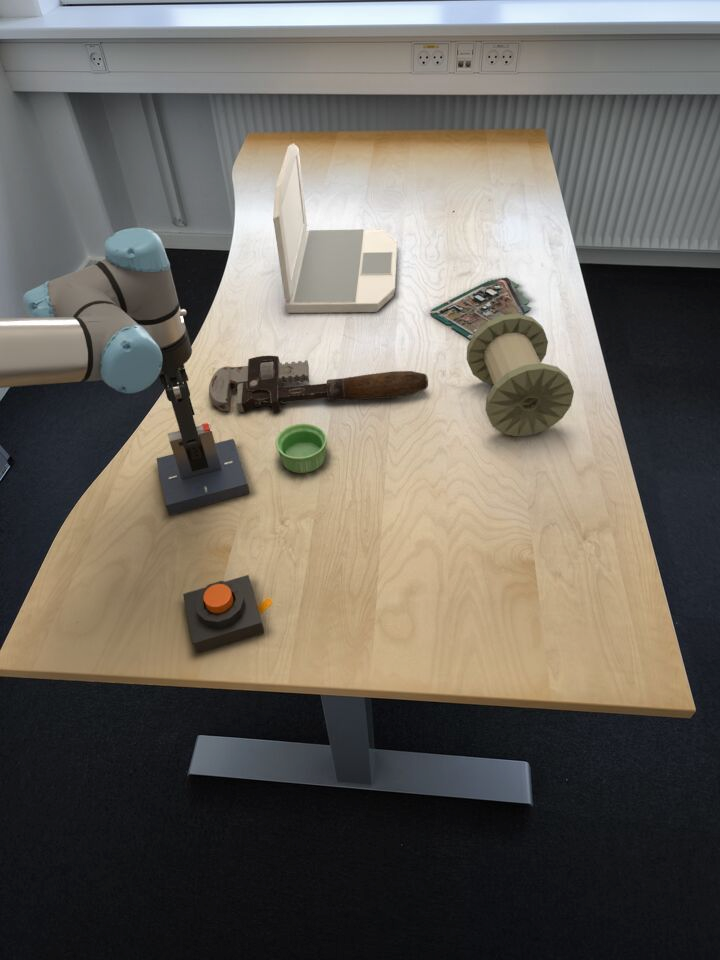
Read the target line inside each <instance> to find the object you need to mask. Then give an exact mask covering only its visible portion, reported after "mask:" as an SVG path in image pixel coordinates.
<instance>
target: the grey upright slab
mask: <svg viewBox="0 0 720 960" xmlns="http://www.w3.org/2000/svg"><path fill="white" fill-rule="evenodd" d="M196 428H197V432H198V435H200V439H201V442H202V445H203V449H204V452H205V456H206V459H207V463H208V466H209V467H208V468H204V469H201V470H197V471H193V472H192V470H191V466H190V463H189V460H188V457H187V454H186V451H185V448H184V447H183V446H179V442H182V437H181V433H180V430H177V431H173V432H169V433H167V438H168V441H169V445H170V448H171V450H172V454H174V457H175V460H176V463H177V466H178V469H179V472H180V475H181V478H182V479H185V478H189V477H192V476H196V475H200V474H204V473H208V472H211V471H215V470H219V469H222V468H221V464H220V460H219V456H218V453H217V449H216V445H215V443H216V442H215V438H214V433H213V430H212V426H211V423H209V422H206V423H202V425H201V424H200V425H196Z"/></svg>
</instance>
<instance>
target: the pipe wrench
mask: <svg viewBox="0 0 720 960" xmlns="http://www.w3.org/2000/svg"><path fill="white" fill-rule="evenodd" d="M247 361H248V362H247V365H243V366H230V365H229V366H223V367H220V368H218V369H217V370H216V371H215V372H214V373H213V375H212V377H211V379H210V382H209V385H208V397H209V399H210V401H211V402H212V404H213V406H215V407H216V408H217V409H219V410H220V411H221V412H230V410H231V409H230V407H231V396H232V391H233V390H234V389H236V390H237V391H236V402H235V403H236V406H237V407H236V408H237V410H238V413H248V412H249V411H251V410H252V409H253V408H255V407H256V408H257V407H261V406H262V407H263V406H271V409H272V412H273V413H279V412H281V406H282V405H283V404H285V403H292V402H303V401H311V400H313V401H314V400H320V399H321V400H322V399H327V400H328V401H329V402H334V401H345V400H369V399H384V398H385V399H386V398H387V399H388V398H399V397H403V396H409V395H415V394H417V393H419V392H421V391H424V390H426V389H427V388H428V387H429V378H428V375H427V374H426V373H422V372H418V371H413V370H397V371H396V370H393V371H384V372H378V373H377V372H376V373H369V374H368V373H367V374H362V375H355V376H348V377H342V378H330V379H326V383H316V384H303V385H291V386H290V383H292V384H296V383H297V382H299V383H304V382H305V383H309V382H310V375H309V374H310V371H309V368H310V367H309V361H308V360H307V359H306V360H304V361H302V360H298V361H297V362H296V361H291V363H289V361H286V362H284V363H282V362H280V358H279V356H278V355H260V356H255V357H251V358H248V359H247ZM284 383H285V384H286V385H287V386H281V385H284ZM288 385H289V386H288Z"/></svg>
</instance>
